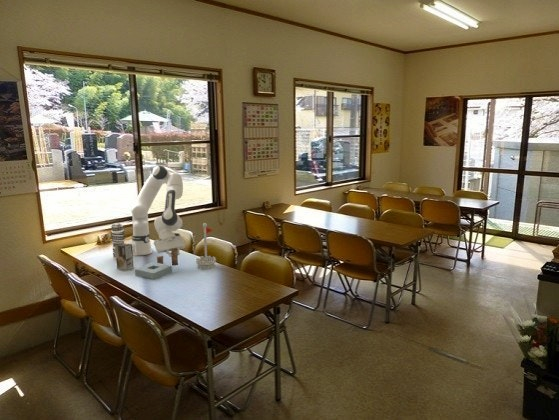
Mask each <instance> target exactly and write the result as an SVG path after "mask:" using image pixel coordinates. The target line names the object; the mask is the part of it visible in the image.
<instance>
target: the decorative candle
mask: <svg viewBox="0 0 559 420" xmlns="http://www.w3.org/2000/svg"><path fill="white" fill-rule="evenodd" d="M110 227H111V231H110V236H111V242H112V243H111V244H112V257H113V260H116V250H115V245H118V244H120V243H125V240H126V239H125V231H124V225H123V224H122V223H120V222H115V223H112V224H111V226H110Z"/></svg>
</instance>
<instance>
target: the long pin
mask: <svg viewBox="0 0 559 420" xmlns="http://www.w3.org/2000/svg"><path fill="white" fill-rule="evenodd" d="M170 253H172V255H173V256H172V257H170V258H171V266H172V267H173V266H178V265H179V255H178V251H177V248H171V251H170Z"/></svg>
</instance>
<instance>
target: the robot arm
mask: <svg viewBox="0 0 559 420" xmlns="http://www.w3.org/2000/svg"><path fill="white" fill-rule="evenodd" d="M164 184H166V194H165V203H164V210H163V212H162V214H161V215H160V216H158V217H156V218H155V219H154V222H153V223H154V224H153V225H154V229H155V231H156V233H157V235H158V237H159V239H156V240H154V241H153V245H154V248H155V251H156V253H157V254H163V253H166V254H167V255H168V256H169V257H170V258H171V257H172V256H173V255H172V253H171V248H177V251H178V256H180V255H181V253H180V250H181V249H182V250H183V249H185V248H186V246H187V244H186V242H185V240H184V238H183V237H182V236H181V233H179V232H178V233H177V232H176V231H177V230H180V229H181V228H182V226H183V225H184V224H183V222H184V221H183V220H182V218H181V217H180V216H179V215H178V214H177V212H176V209H175V208H176V200H179V199H181V198H182V197H183V192H184V191H183V190H184V184H183V178H182V175H181V174H180V173H179V172H177V171H175V170H173V169H172V168H169V167H166V166H164V165H162V164H157V165H155V166H154V167H153V168H152V171H151V174H150V175H149V177H148V178H147V179H146V181H145V183H144V184H143V186H142V188H141V190H140V192H139V194H138V195H137V198H136V200H135V201H134V202H133V203H132V206H131V214H132V215H131V217H132V218H131V219H132V233H133V234H132V235H130V238H131V240H129V241H128V243H126V244H132V253H133V257H135V256H136V257H137V256H145V255H146V256H147V255H149V254H152V253H153V247H152V243H151V233H150V229H149V214H148V213H149V210H150V208H151V206H152V205H153V202H154V201H155V198H156V197H157V194H158V193H159V191H160V189H161V187H162V186H163V185H164Z"/></svg>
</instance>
